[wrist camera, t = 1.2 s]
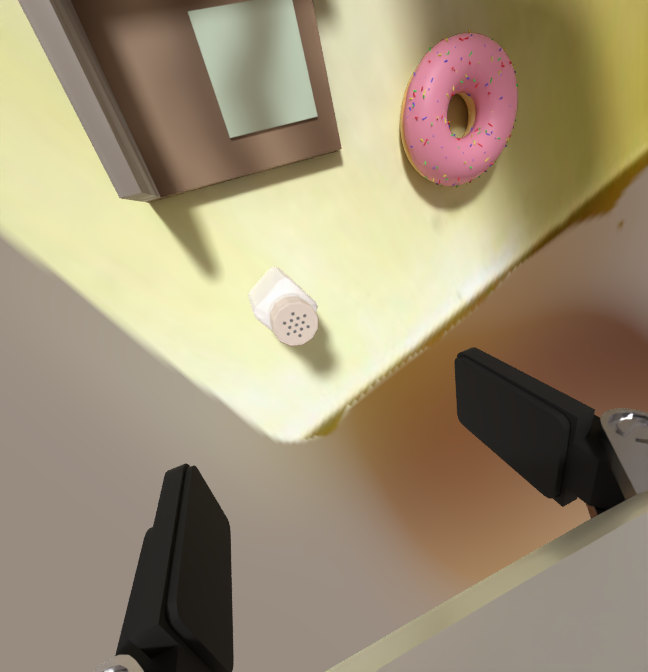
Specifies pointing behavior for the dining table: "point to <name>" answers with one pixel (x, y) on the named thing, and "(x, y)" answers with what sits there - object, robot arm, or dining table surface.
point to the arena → (190, 87)
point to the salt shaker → (284, 307)
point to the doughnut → (482, 102)
